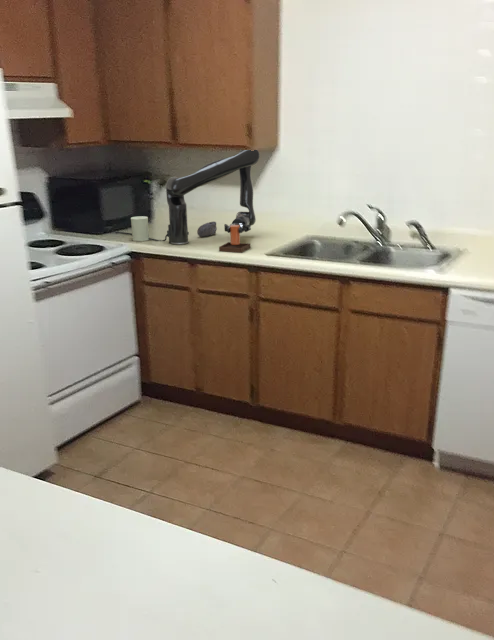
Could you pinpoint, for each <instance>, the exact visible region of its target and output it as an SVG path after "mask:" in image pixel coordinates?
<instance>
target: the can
mask: <svg viewBox="0 0 494 640" xmlns="http://www.w3.org/2000/svg"><path fill="white" fill-rule="evenodd" d="M130 224H131V225H130V226H131V233H132V235H131V237H132V241H133V242H147V241H150V240H149V238H150V231H149V229H150V228H149V217H148V216H145V215H143V216H142V215H141V216H140V215H139V216H132V217H130Z"/></svg>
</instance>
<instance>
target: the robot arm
mask: <svg viewBox="0 0 494 640" xmlns="http://www.w3.org/2000/svg"><path fill="white" fill-rule="evenodd" d="M260 156H261V155H260V152H259V150H258V149H257V150H254V151H251V150H241V149H240V150H239V151H238V153H236V154H234V155H231V156H228V157H222V158H219V159H216V160H213V161H210V162H208V163H206V164H204V165H202V166H201V167H200V168H199V169H197V170H196V171H194V172H193V173H191V174H188V175H185V176H175V175H174V176H171V177H169V178H168V179H167V181H166V184H165V193H166V202H167V206H168V218H169V220H168V221H169V224H168V225H167V230H166V234H165V236H164V239H162V240H161V239H155V238H153V237H151V238H150V237H149V240H148V241H155V242H165V241H167V238H168V244H171V245H175V246H176V245H187V244H189V234H190V232H189V225H188V224H189V223H188V206H187V202H186V200H185V195H187V194H189V193H190V192H193V191H194V190H196V189H197V188H200V187H203V186H205V185H209V184H211V183H213V182H216V181H218V180H221V179H223V178H225V177H227V176H228V175H231V174H233V173H234V172H236V171H238V172H239V205H240V207H242V208H246V209H247V210H248V211H238V212H237V213H236V215H235V218H234V219H233V220H232V223H230V224H226V223H224V227H223V228H224V232H226V233H227V234H230V225H240V228H239V233H240V234H242V233H244V232H245V233H247V232H249V231H251V230H252V226H254V225H255V224H256V221H257V217H256V214H255V209H254V186H253V182H252V167H253V166H254V165H257V163H258V162H259V160H260V158H261V157H260ZM111 230H112V231H109V230H107V231H106V234H108V233H109V232H111V233H115V234H122V235H123V234H124V235H130V236H132V232H125V231H116V230H113V229H111Z"/></svg>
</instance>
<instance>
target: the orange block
mask: <svg viewBox="0 0 494 640" xmlns="http://www.w3.org/2000/svg"><path fill="white" fill-rule="evenodd" d="M229 226H230V233H229V239H230V241H229V242H230V244H231V245H239V244H240V243H241V233H239V228H240V225H230V224H229Z"/></svg>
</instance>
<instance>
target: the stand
mask: <svg viewBox="0 0 494 640" xmlns="http://www.w3.org/2000/svg"><path fill="white" fill-rule="evenodd" d="M251 246H252V245H251V243H246V242H240V244H239V245H231V244H230V241H228V242H226V243H224V244H222V245H220V246H218V252H225V253H237V254H243V253H245V252H247V251H248V250H251V248H252V247H251Z"/></svg>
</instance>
